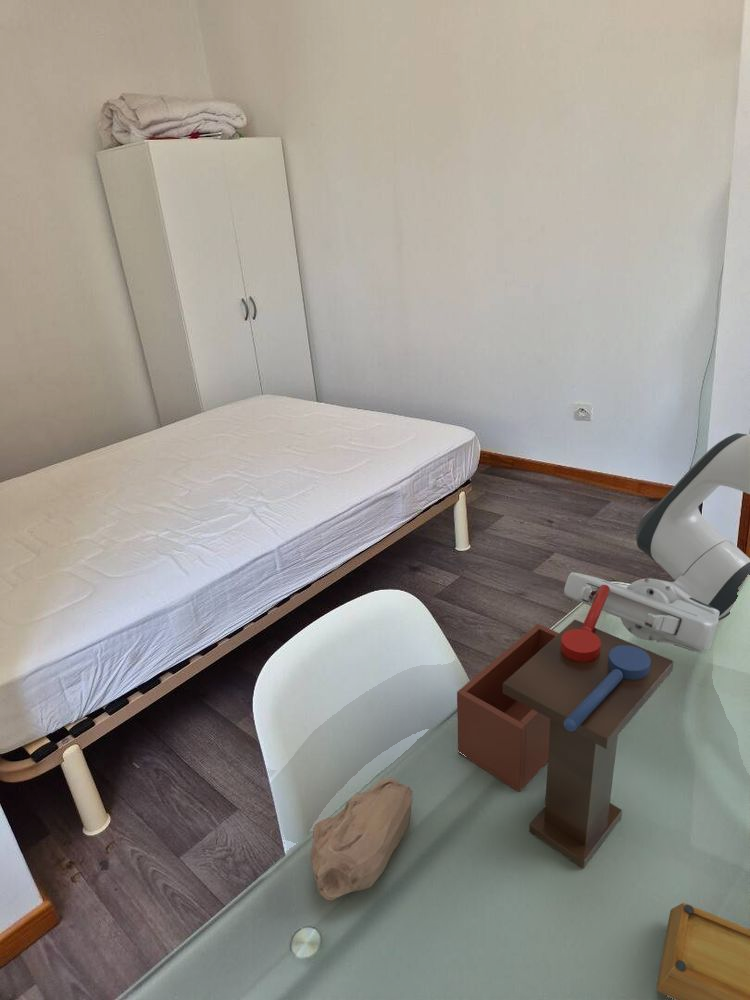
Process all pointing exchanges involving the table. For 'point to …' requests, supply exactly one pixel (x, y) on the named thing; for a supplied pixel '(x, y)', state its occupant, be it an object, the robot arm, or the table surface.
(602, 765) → the shelf stand
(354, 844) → the rock
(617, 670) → the blue spoon
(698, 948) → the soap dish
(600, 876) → the table surface
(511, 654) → the bin
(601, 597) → the red spoon
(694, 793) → the table surface
